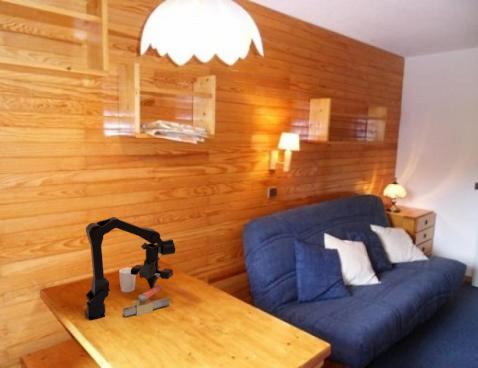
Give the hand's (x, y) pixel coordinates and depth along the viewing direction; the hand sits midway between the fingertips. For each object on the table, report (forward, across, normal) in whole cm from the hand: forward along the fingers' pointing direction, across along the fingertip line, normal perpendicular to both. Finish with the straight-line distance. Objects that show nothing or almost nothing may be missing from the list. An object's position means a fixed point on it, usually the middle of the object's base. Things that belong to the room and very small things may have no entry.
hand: (151, 289), depth 170 cm
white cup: (+6, -18, +9) cm, 21 cm away
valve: (+6, +2, -8) cm, 10 cm away
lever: (0, +1, -5) cm, 5 cm away
